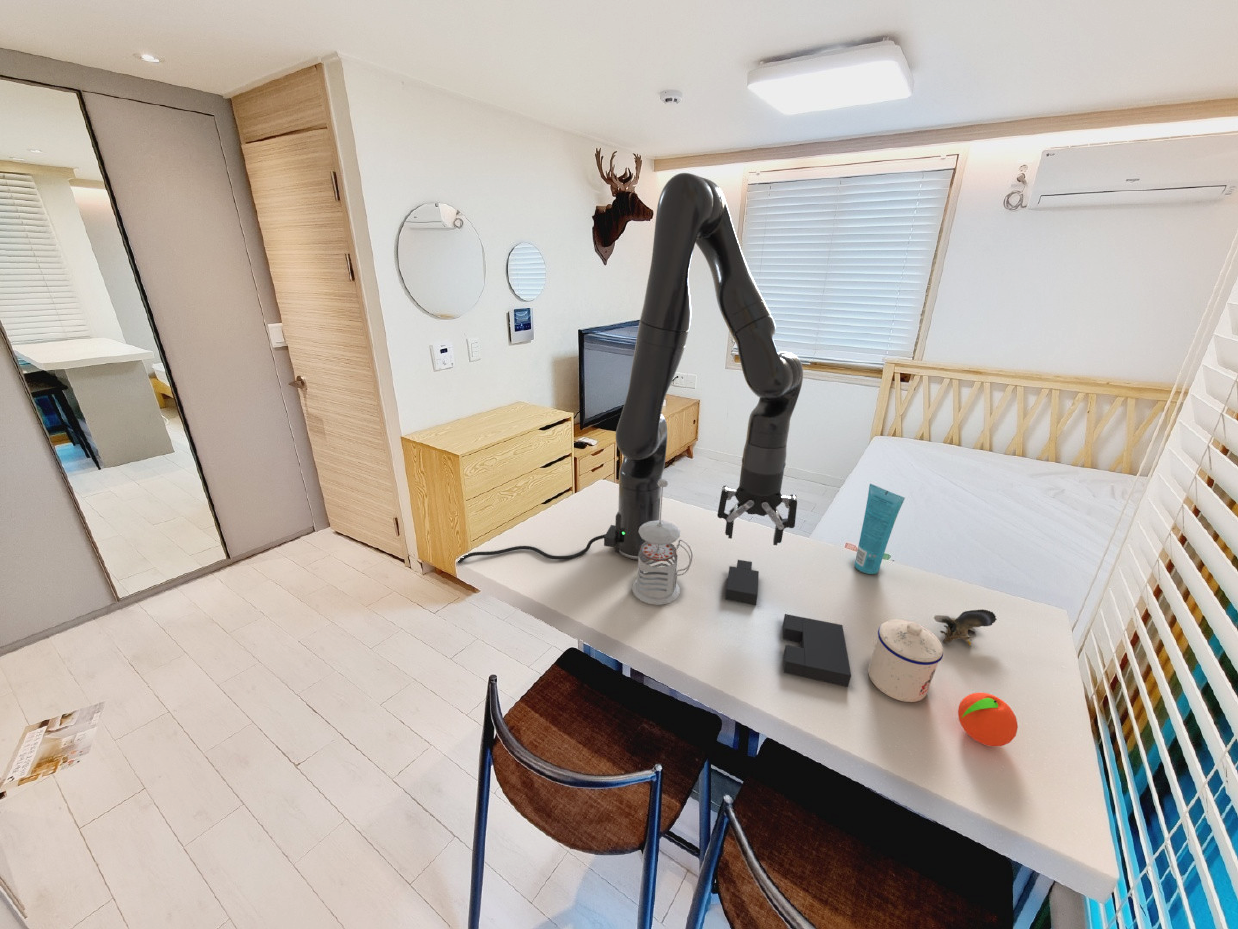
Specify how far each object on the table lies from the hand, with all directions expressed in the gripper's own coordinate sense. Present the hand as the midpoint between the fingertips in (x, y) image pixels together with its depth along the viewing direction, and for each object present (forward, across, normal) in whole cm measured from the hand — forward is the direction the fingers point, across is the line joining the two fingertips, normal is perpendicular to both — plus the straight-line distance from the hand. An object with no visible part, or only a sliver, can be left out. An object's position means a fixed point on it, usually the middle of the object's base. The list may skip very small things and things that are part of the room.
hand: (752, 539), depth 98 cm
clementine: (+12, -34, +25) cm, 44 cm away
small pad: (+12, +1, -1) cm, 12 cm away
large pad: (+12, -12, +14) cm, 22 cm away
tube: (+12, -25, -15) cm, 32 cm away
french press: (+12, +17, +5) cm, 21 cm away
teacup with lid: (+12, -25, +16) cm, 32 cm away
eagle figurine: (+12, -38, +3) cm, 40 cm away
